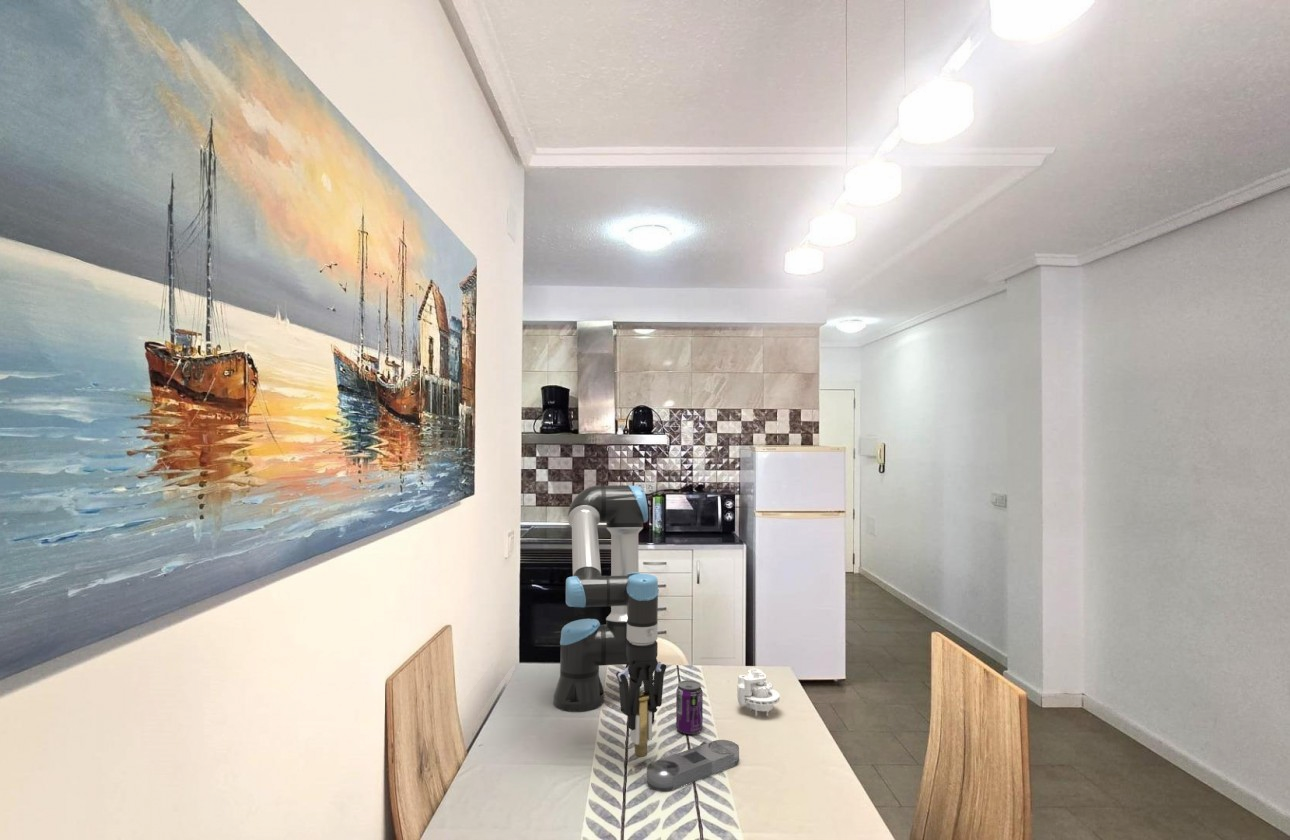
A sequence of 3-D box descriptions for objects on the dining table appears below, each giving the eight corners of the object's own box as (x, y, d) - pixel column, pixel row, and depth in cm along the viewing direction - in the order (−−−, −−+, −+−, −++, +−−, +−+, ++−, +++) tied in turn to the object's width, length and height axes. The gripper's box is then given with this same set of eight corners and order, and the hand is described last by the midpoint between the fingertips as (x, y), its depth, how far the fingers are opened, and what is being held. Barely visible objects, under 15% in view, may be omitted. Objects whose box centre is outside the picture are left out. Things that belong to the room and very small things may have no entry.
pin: (630, 753, 142) (630, 693, 142) (643, 748, 144) (643, 690, 144) (638, 760, 138) (639, 699, 139) (652, 755, 140) (652, 695, 141)
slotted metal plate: (640, 779, 134) (640, 766, 134) (724, 749, 148) (724, 737, 148) (659, 795, 128) (659, 780, 128) (745, 761, 142) (745, 749, 142)
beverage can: (701, 737, 154) (701, 690, 155) (674, 734, 156) (674, 688, 157) (703, 725, 161) (703, 680, 162) (678, 723, 163) (678, 678, 164)
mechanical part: (777, 723, 163) (777, 679, 164) (734, 716, 167) (734, 674, 168) (781, 707, 174) (781, 666, 175) (741, 701, 178) (740, 661, 178)
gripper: (622, 651, 135) (621, 756, 134) (677, 639, 144) (677, 737, 143) (605, 642, 141) (604, 742, 140) (659, 631, 150) (659, 725, 149)
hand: (641, 739), depth 141 cm, fingers closed on pin, 3 cm apart
